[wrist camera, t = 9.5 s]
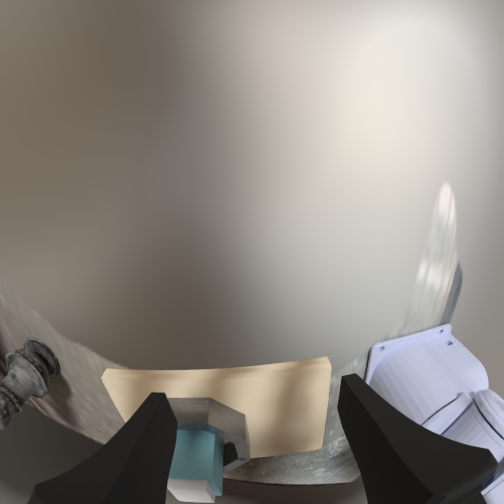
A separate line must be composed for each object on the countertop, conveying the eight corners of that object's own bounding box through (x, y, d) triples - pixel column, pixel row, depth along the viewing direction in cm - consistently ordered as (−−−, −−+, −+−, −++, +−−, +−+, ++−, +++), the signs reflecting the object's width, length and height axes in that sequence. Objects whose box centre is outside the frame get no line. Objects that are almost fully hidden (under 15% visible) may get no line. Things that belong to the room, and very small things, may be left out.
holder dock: (326, 356, 22) (342, 391, 18) (319, 438, 26) (326, 468, 21) (106, 368, 22) (88, 399, 17) (149, 446, 25) (142, 474, 21)
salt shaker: (70, 381, 22) (22, 460, 11) (36, 375, 22) (-12, 440, 11) (48, 336, 21) (-18, 413, 9) (15, 332, 21) (-46, 395, 9)
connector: (216, 413, 22) (211, 488, 14) (224, 437, 23) (221, 504, 15) (173, 414, 22) (158, 484, 14) (185, 437, 23) (175, 502, 15)
